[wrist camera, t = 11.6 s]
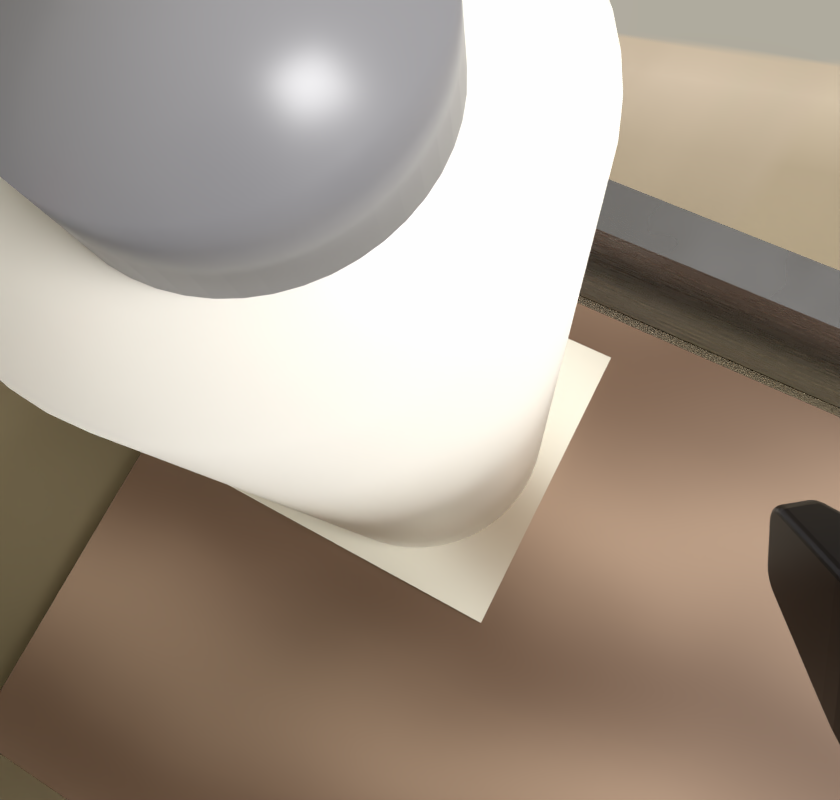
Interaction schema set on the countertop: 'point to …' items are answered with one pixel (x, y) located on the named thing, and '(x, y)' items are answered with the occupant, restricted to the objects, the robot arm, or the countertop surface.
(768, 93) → the countertop surface
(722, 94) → the countertop surface
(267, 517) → the shelf board
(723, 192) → the countertop surface
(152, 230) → the bottle
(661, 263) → the price rail
